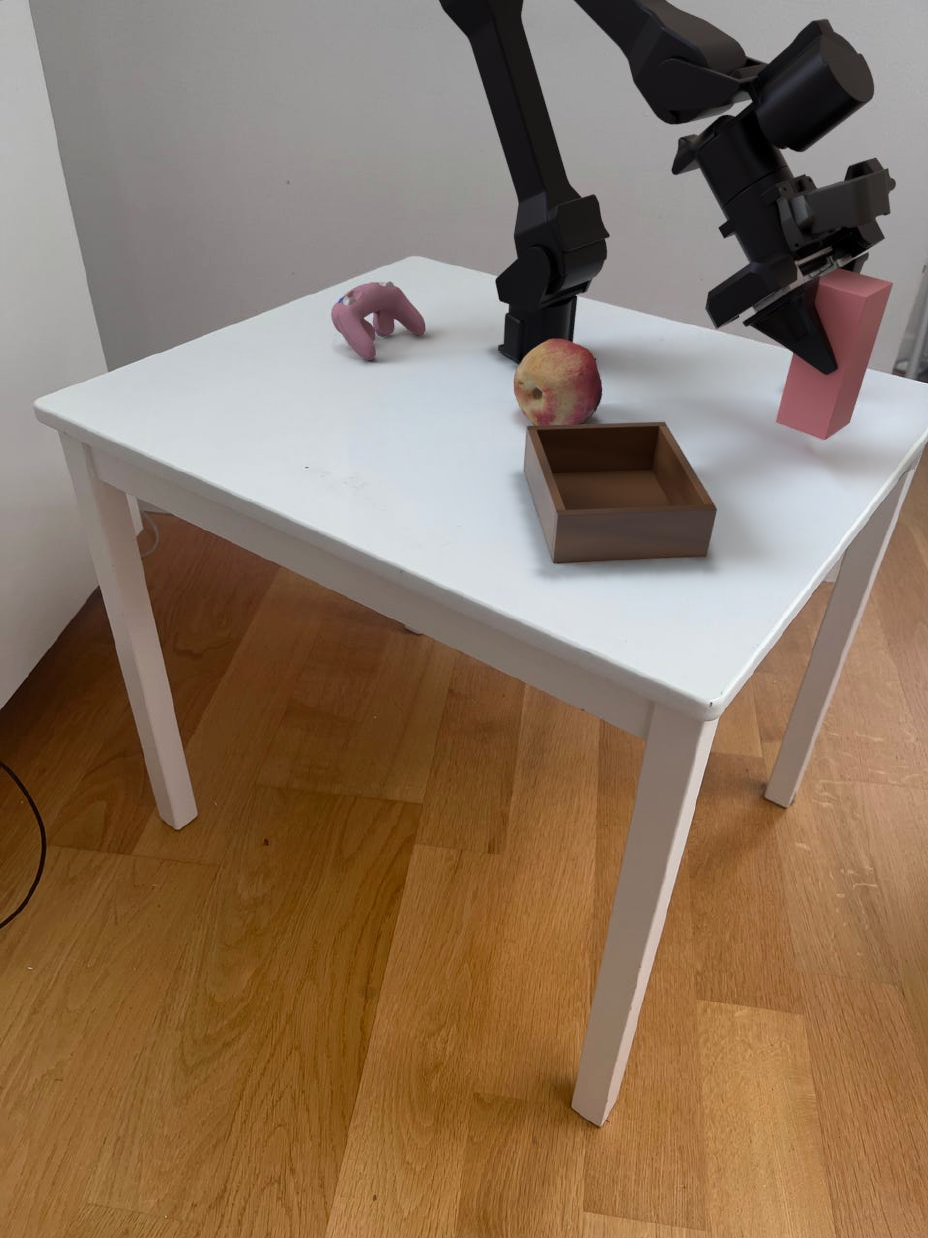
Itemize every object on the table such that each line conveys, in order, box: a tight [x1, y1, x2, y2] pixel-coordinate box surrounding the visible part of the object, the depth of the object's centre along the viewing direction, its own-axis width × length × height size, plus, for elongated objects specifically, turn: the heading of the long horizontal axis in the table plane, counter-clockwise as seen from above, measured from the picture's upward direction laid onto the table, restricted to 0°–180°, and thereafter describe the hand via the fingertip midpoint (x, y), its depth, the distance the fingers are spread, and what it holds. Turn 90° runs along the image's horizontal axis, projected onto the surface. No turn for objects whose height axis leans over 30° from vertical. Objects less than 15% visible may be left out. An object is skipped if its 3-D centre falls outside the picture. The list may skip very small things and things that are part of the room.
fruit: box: [513, 339, 603, 426], centre depth 83 cm, size 8×8×8 cm
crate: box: [522, 421, 718, 564], centre depth 72 cm, size 13×11×5 cm
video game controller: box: [330, 281, 427, 361], centre depth 98 cm, size 10×5×7 cm, turn 144°
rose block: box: [775, 268, 894, 441], centre depth 77 cm, size 5×5×12 cm
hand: (846, 363), depth 76 cm, fingers closed on rose block, 4 cm apart
